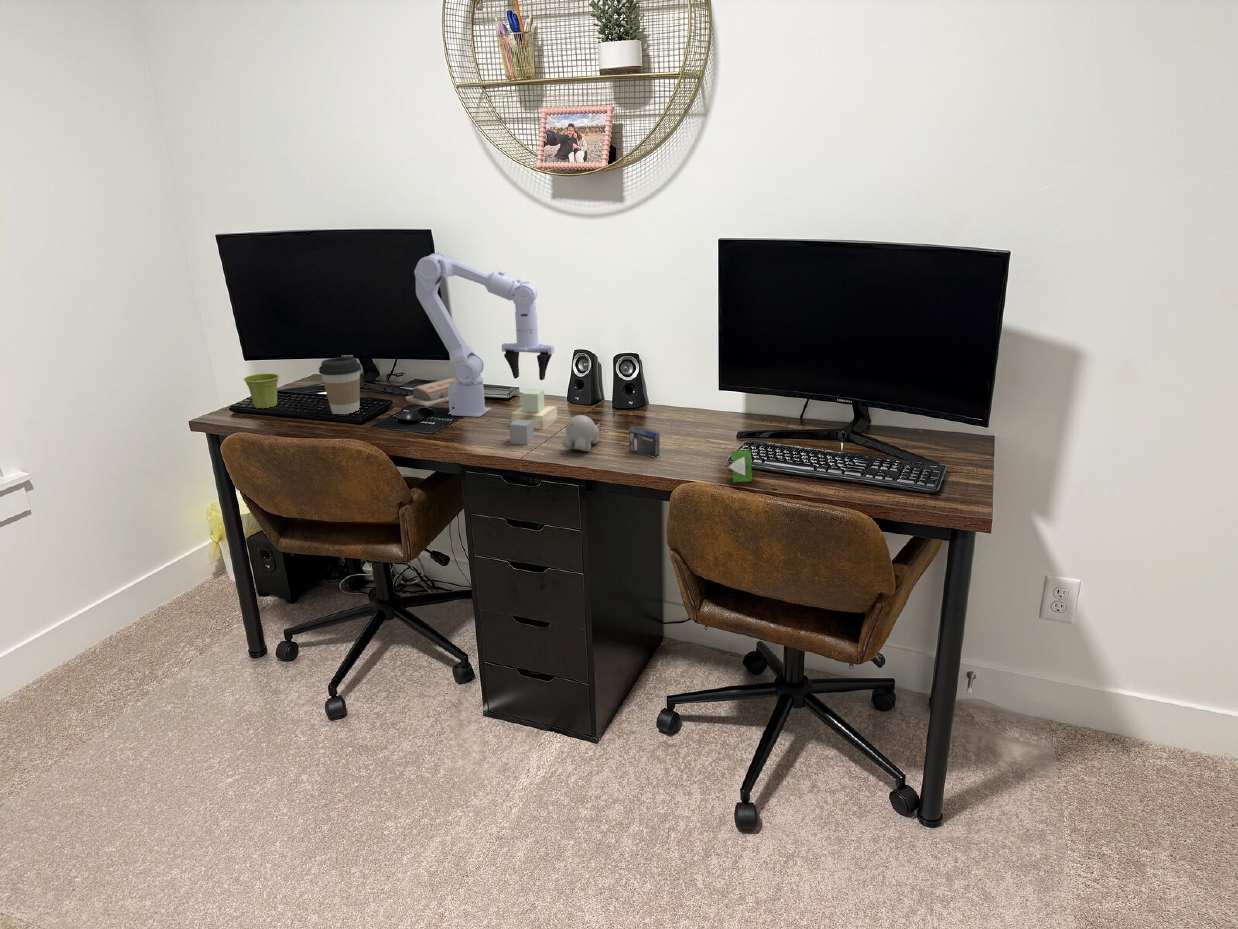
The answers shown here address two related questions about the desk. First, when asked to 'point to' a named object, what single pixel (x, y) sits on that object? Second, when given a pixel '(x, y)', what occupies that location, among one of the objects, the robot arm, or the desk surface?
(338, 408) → the coffee cup
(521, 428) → the grey cube
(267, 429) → the desk surface
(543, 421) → the birch block
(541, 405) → the sage cube
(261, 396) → the plant pot
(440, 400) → the packaged product
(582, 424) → the round bodied animal figurine
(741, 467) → the geometric puzzle
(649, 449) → the mini dv tape
